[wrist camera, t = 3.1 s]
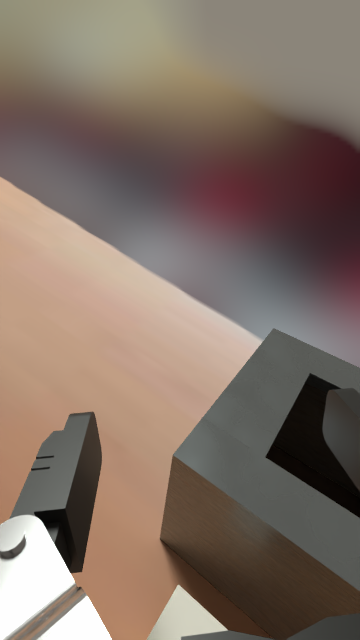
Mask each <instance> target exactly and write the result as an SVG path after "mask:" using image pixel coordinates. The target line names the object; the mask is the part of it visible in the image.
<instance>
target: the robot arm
mask: <svg viewBox="0 0 360 640" xmlns="http://www.w3.org/2000/svg"><path fill="white" fill-rule="evenodd" d="M323 435H324V438H325V441H326V443H327V445H328V446H329V448H330V449H331V451H332V452H333V454H334V455H335V456H336V458H337V459H338V461H339V462H340V464H341V465H342V467H343V468H344V470H345V471H346V472H347V474H348V475H349V477H350V478H351V480H352V481H353V483H354V484H355V486H356V487H357V488H358V490H359V491H360V394H359V393H358V392H357V391H356V390H355V389H353V388H346V389H335V390H329V391H328V393H327V397H326V405H325V412H324V419H323ZM101 463H102V452H101V444H100V439H99V434H98V428H97V423H96V418H95V414H94V412H84V413H74V414H70V415H69V417H68V420H67V422H66V425H65V428H64V430H62V431H53V433H52V434H51V435H50V436H49V437H48V438H47V439H46V440H45V441H44V442H43V443H42V445H41V447H40V449H39V452H38V454H37V456H36V460H35V461H34V463H33V466H32V468H31V472H30V473H29V475H28V477H27V480H26V482H25V484H24V487H23V489H22V491H21V493H20V496H19V498H18V500H17V503H16V505H15V507H14V510H13V512H12V514H11V517H10V519H9V520H7V521H5V522H3V523H2V524H1V525H0V640H111V638H110V636H109V634H108V632H107V631H106V629H105V627H104V625H103V623H102V622H101V620H100V618H99V616H98V614H97V612H96V611H95V609H94V607H93V605H92V603H91V602H90V600H89V598H88V596H87V595H86V593H85V592H84V590H83V589H82V588H81V587H79V588H78V587H77V585H76V583H75V582H74V580H73V578H72V576H71V574H70V573H77V572H82V569H83V563H84V558H85V552H86V547H87V541H88V536H89V530H90V525H91V520H92V514H93V509H94V503H95V498H96V492H97V487H98V481H99V476H100V470H101ZM181 640H276V639H271V638H265V637H260V636H255V635H250V634H245V633H240V632H235V631H230V630H228V631H221V632H213V633H206V634H198V635H191V636H183V637H181ZM285 640H360V613H356V614H349V615H341V616H334V617H326V618H324V619H323V620H321V621H319V622H317V623H315V624H313V625H312V626H310V627H308V628H306V629H304V630H302V631H300V632H299V633H297V634H295V635H293V636H291V637H289V638H287V639H285Z"/></svg>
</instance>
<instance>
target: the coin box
mask: <svg viewBox="0 0 360 640" xmlns="http://www.w3.org/2000/svg"><path fill="white" fill-rule="evenodd" d="M346 388H353V389H355V390H356V391H357V392H358V393H359V394H360V368H359V367H356V366H354V365H352V364H350V363H348V362H345V361H343V360H341V359H339V358H337V357H335V356H333V355H330V354H328V353H326V352H324V351H322V350H320V349H317V348H315V347H313V346H311V345H309V344H307V343H304V342H302V341H300V340H298V339H296V338H294V337H291V336H289V335H287V334H285V333H283V332H280V331H279V330H276V329H273V330H272V331H271V332H270V334H269V335H268V336H267V337H266V339H265V340H264V341H263V342H262V344H261V345H260V346H259V347H258V349H257V350H256V351H255V352H254V354H253V355H252V356H251V357H250V359H249V360H248V361H247V362H246V364H245V365H244V366H243V368H242V369H241V370H240V371H239V373H238V374H237V375H236V376H235V378H234V379H233V380H232V381H231V383H230V384H229V385H228V386H227V388H226V389H225V390H224V391H223V393H222V394H221V395H220V396H219V398H218V399H217V400H216V401H215V403H214V404H213V405H212V406H211V408H210V409H209V410H208V412H207V413H206V414H205V415H204V417H203V418H202V419H201V420H200V422H199V423H198V424H197V425H196V427H195V428H194V429H193V430H192V432H191V433H190V434H189V435H188V437H187V438H186V439H185V440H184V442H183V443H182V444H181V445H180V447H179V448H178V449H177V451H176V452H175V453H174V454H173V458H172V464H171V471H170V477H169V483H168V490H167V496H166V503H165V509H164V515H163V522H162V528H161V534H160V539H161V540H162V541H163V542H164V543H165V544H166V545H168V546H169V547H170V548H171V549H172V550H173V551H174V552H176V553H177V554H178V555H179V556H180V557H181V558H182V559H184V560H185V561H186V562H187V563H188V564H189V565H190V566H192V567H193V568H194V569H195V570H196V571H197V572H198V573H200V574H201V575H202V576H203V577H204V578H205V579H206V580H208V581H209V582H210V583H211V584H212V585H213V586H214V587H215V588H217V589H218V590H219V591H220V592H221V593H222V594H223V595H225V596H226V597H227V598H228V599H229V600H230V601H231V602H233V603H234V604H235V605H236V606H237V607H238V608H239V609H241V610H242V611H243V612H244V613H245V614H246V615H247V616H249V617H250V618H251V619H252V620H253V621H254V622H255V623H257V624H258V625H259V626H260V627H261V628H262V629H263V630H265V631H266V632H267V633H268V634H269V635H270V636H271V637H273V638H274V639H276V640H285V639H287V638H289V637H291V636H293V635H295V634H297V633H299V632H300V631H302V630H304V629H306V628H308V627H310V626H312V625H313V624H315V623H317V622H319V621H321V620H323V619H324V618H326V617H334V616H341V615H349V614H356V613H360V518H359V517H357V516H356V515H354V514H353V513H351V512H350V511H348V510H347V509H345V508H343V507H342V506H340V505H339V504H337V503H336V502H334V501H333V500H331V499H329V498H328V497H326V496H325V495H323V494H322V493H320V492H318V491H317V490H315V489H314V488H312V487H311V486H309V485H308V484H306V483H304V482H303V481H301V480H300V479H298V478H297V477H295V476H294V475H292V474H290V473H289V472H287V471H286V470H284V469H283V468H281V467H280V466H278V465H276V464H275V463H273V462H272V461H270V460H269V459H267V458H265V457H266V455H267V453H268V451H269V450H270V448H271V446H272V444H273V445H275V446H277V447H278V448H280V449H281V450H283V451H285V452H286V453H288V454H290V455H291V456H293V457H294V458H296V459H298V460H299V461H301V462H302V463H304V464H306V465H307V466H309V467H311V468H312V469H314V470H315V471H317V472H319V473H320V474H322V475H324V476H325V477H327V478H328V479H330V480H332V481H333V482H335V483H336V484H338V485H340V486H341V487H343V488H345V489H346V490H348V491H349V492H351V493H353V494H354V495H356V496H358V497H359V498H360V491H359V490H358V488H357V487H356V486H355V484H354V483H353V481H352V480H351V478H350V477H349V475H348V474H347V472H346V471H345V470H344V468H343V467H342V465H341V464H340V462H339V461H338V459H337V458H336V456H335V455H334V454H333V452H332V451H331V449H330V448H329V446H328V445H327V443H326V441H325V438H324V435H323V419H324V412H325V405H326V397H327V393H328V391H329V390H335V389H346Z"/></svg>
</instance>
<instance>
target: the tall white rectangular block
mask: <svg viewBox="0 0 360 640" xmlns="http://www.w3.org/2000/svg"><path fill="white" fill-rule="evenodd" d="M221 631H228V630H227V629H226V628H225V627H224V626H223V625H222V624H221V623H220V622H219V621H218V620H216V619H215V618H214V617H213V616H212V615H211V614H210V613H209V612H208V611H207V610H206V609H205V608H203V607H202V606H201V605H200V604H199V603H198V602H197V601H196V600H195V599H194V598H193V597H191V596H190V595H189V594H188V593H187V592H186V591H185V590H184V589H183V588H182V587H181V586H180V585H178V586H177V588H176V589H175V591H174V593H173V595H172V596H171V598H170V600H169V602H168V603H167V605H166V607H165V609H164V610H163V612H162V614H161V616H160V617H159V619H158V621H157V622H156V624H155V626H154V628H153V629H152V631H151V633H150V635H149V636H148V638H147V640H181V637H183V636H191V635H198V634H206V633H213V632H221Z"/></svg>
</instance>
